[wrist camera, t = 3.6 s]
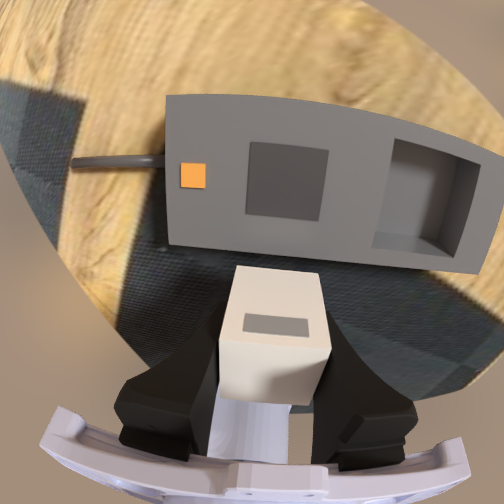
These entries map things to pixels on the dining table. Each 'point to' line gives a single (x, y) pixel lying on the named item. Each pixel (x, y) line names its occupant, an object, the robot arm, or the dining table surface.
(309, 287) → the plug
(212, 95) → the power strip
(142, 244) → the dining table surface
